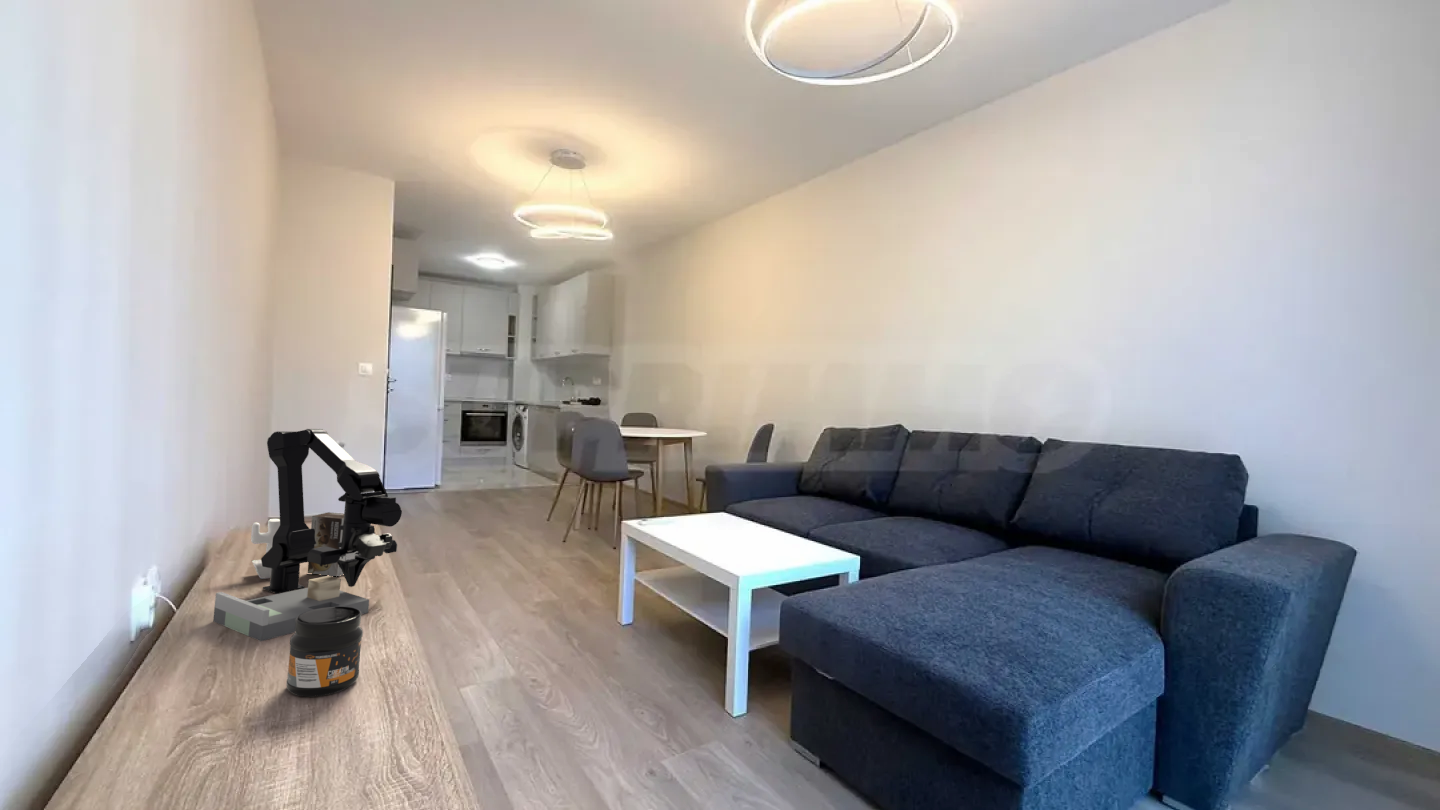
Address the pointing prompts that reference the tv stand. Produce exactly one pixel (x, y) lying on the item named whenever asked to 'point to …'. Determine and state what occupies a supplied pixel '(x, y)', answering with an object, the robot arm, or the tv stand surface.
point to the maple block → (324, 588)
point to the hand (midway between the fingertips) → (351, 586)
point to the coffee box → (327, 540)
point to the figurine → (264, 538)
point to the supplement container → (324, 651)
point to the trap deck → (275, 611)
